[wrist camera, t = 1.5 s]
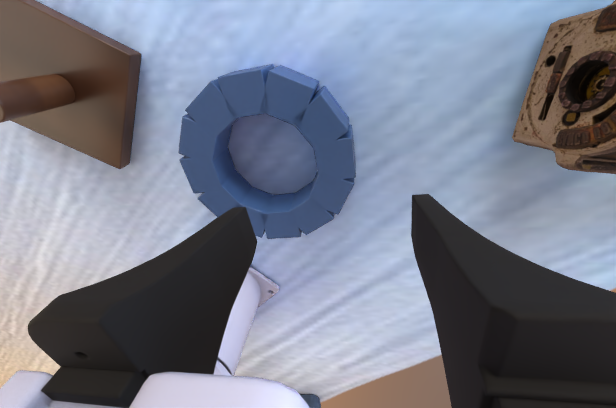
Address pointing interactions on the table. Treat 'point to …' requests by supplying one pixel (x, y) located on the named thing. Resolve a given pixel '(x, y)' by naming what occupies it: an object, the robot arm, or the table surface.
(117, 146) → the brown peg stand
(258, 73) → the ring
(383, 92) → the table surface
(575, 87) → the mechanical counter
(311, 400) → the vaping device
